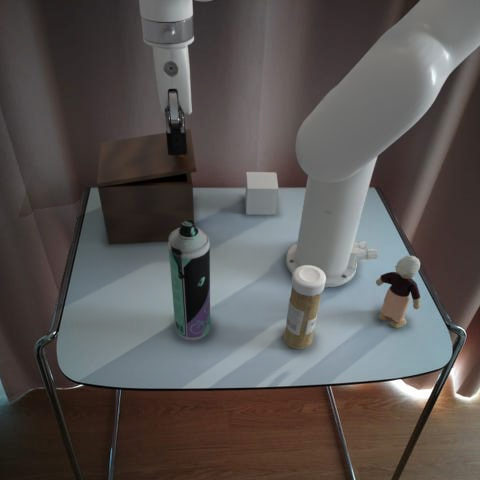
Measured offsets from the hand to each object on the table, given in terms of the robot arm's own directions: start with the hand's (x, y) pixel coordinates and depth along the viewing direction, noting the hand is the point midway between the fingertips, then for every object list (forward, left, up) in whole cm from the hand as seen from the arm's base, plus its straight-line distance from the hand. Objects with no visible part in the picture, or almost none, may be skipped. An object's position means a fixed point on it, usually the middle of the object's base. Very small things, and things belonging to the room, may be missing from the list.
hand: (177, 143), depth 86 cm
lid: (+5, 0, -3) cm, 6 cm away
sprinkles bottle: (-16, +33, -16) cm, 40 cm away
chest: (+6, 0, -16) cm, 17 cm away
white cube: (-16, -3, -16) cm, 23 cm away
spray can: (0, +29, -16) cm, 33 cm away
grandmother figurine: (-32, +30, -16) cm, 47 cm away
